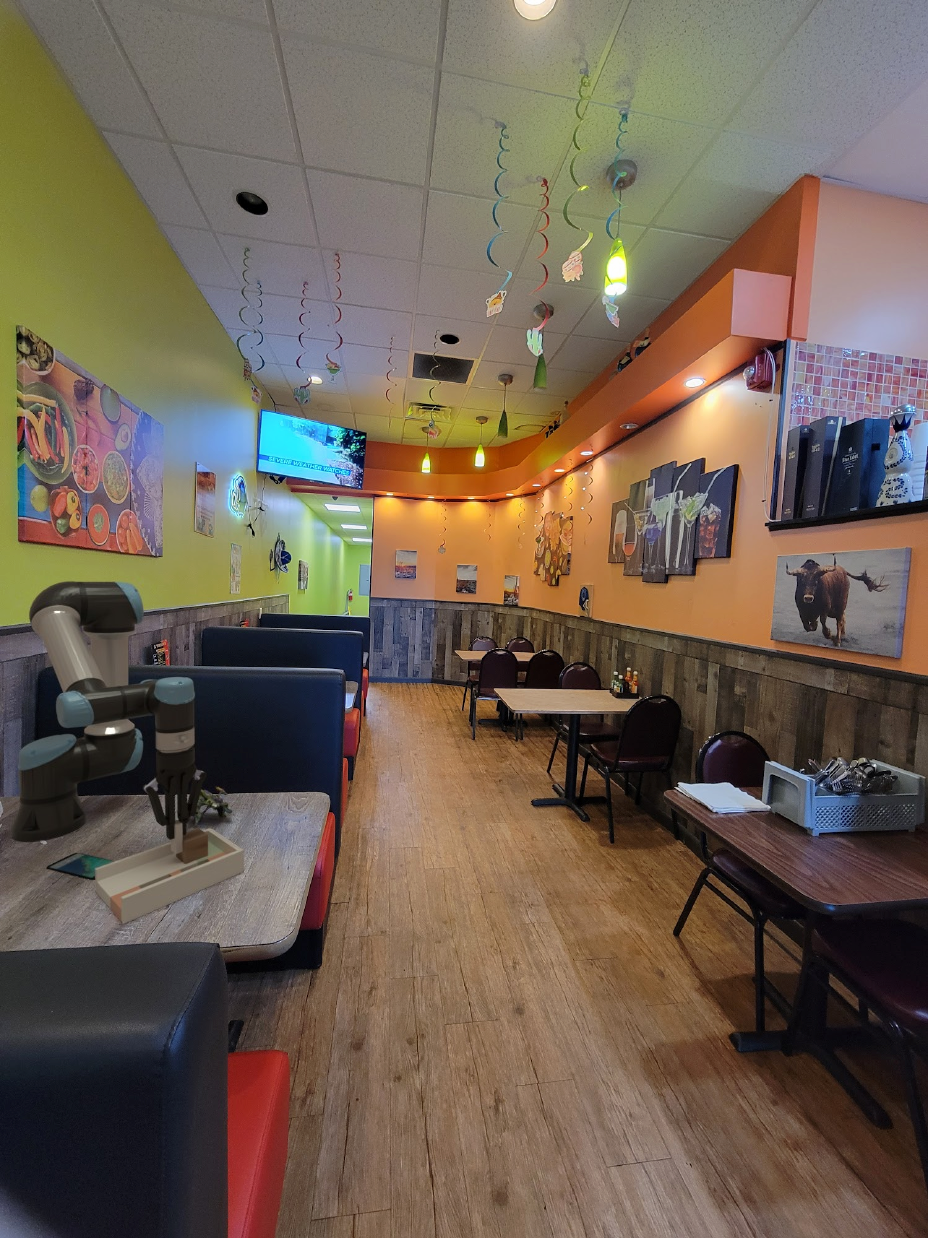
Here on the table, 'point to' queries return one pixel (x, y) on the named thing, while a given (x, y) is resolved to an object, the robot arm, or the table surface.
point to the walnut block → (194, 846)
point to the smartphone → (79, 865)
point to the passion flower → (212, 804)
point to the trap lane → (164, 876)
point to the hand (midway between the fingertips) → (176, 850)
